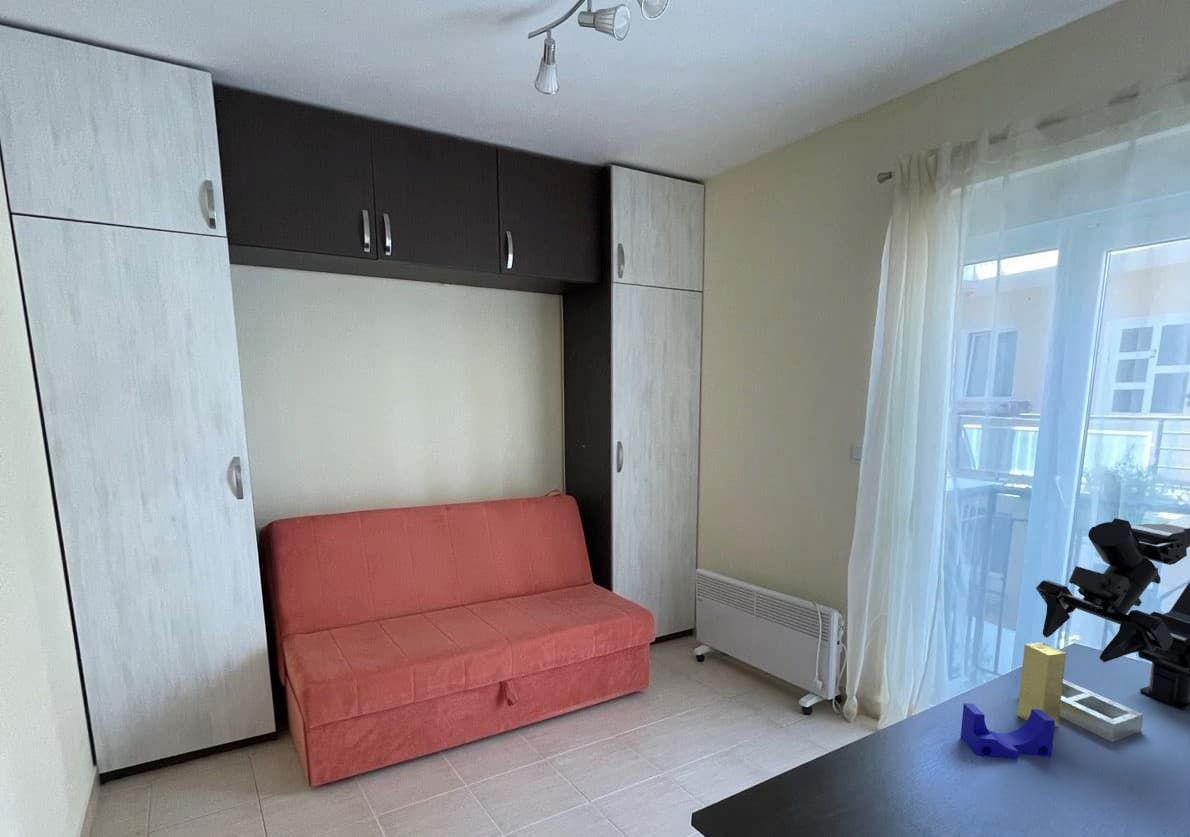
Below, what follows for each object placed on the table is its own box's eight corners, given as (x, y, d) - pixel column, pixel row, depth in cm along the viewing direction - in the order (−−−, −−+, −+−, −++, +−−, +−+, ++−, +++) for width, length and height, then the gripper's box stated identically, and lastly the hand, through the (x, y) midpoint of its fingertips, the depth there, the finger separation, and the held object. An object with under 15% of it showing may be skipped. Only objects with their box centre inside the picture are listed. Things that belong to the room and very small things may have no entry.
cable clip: (976, 756, 88) (980, 719, 87) (960, 738, 92) (963, 703, 92) (1058, 764, 87) (1062, 726, 86) (1037, 745, 91) (1041, 709, 91)
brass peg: (1034, 712, 100) (1041, 642, 100) (1058, 726, 97) (1066, 653, 96) (1017, 715, 99) (1024, 644, 98) (1040, 729, 95) (1048, 655, 95)
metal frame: (1048, 688, 109) (1050, 673, 109) (1141, 731, 96) (1143, 714, 96) (1019, 696, 106) (1021, 681, 105) (1111, 742, 93) (1113, 724, 93)
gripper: (1048, 538, 108) (999, 597, 106) (1170, 570, 90) (1114, 643, 88) (1073, 576, 111) (1026, 634, 109) (1196, 615, 93) (1142, 686, 91)
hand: (1071, 647), depth 99 cm, fingers open, 9 cm apart
